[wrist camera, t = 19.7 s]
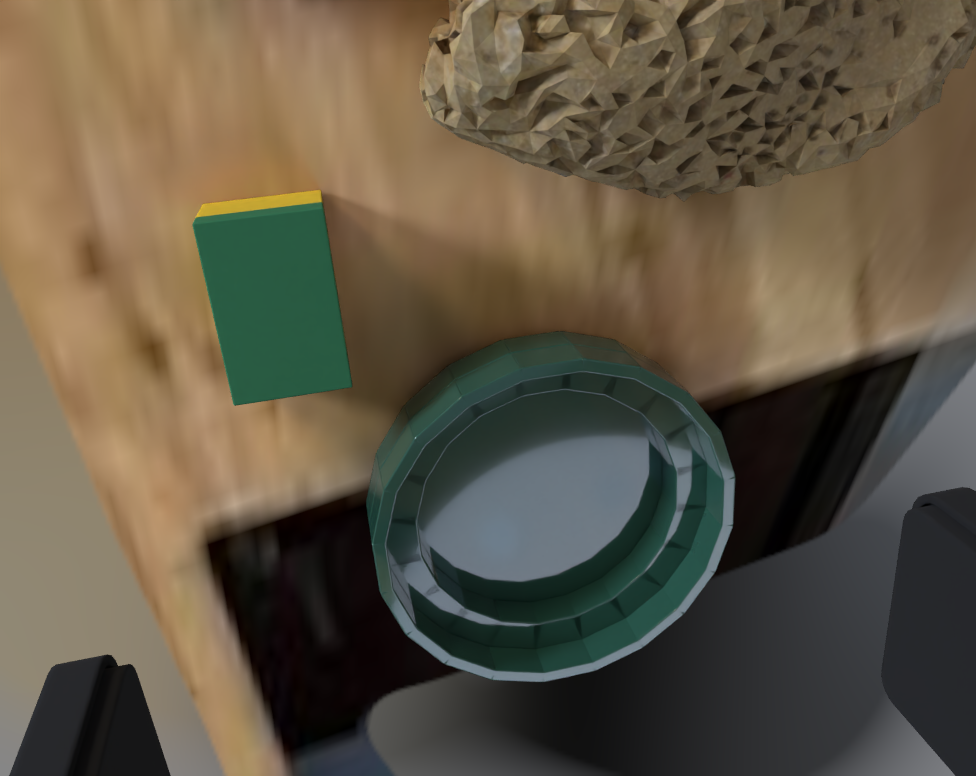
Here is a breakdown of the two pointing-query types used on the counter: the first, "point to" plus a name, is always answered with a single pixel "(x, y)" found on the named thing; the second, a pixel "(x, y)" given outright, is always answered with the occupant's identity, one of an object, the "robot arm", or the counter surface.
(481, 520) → the bowl
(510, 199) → the counter surface
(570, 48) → the sponge
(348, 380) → the small sponge
